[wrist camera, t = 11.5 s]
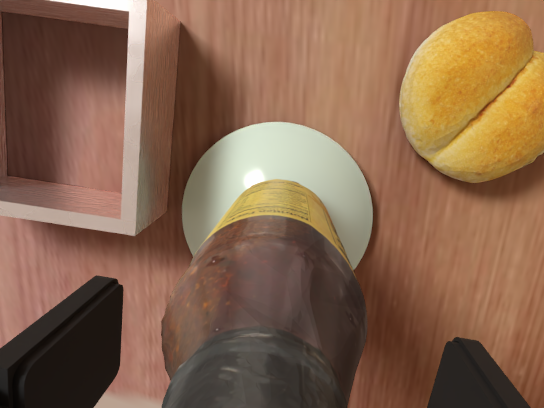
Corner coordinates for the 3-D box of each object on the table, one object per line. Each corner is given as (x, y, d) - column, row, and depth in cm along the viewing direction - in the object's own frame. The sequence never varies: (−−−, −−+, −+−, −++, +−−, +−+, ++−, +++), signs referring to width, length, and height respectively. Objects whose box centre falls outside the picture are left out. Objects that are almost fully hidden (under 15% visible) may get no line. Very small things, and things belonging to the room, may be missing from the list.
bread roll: (473, -12, 20) (515, -41, 17) (573, 104, 22) (634, 102, 18) (362, 100, 22) (377, 97, 18) (460, 201, 23) (493, 219, 19)
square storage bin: (180, 21, 21) (147, -6, 17) (166, 211, 24) (135, 235, 19) (-13, -6, 22) (-101, -40, 17) (-4, 185, 25) (-78, 203, 20)
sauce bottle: (307, 282, 24) (359, 965, 5) (217, 249, 24) (-106, 821, 5) (346, 190, 22) (665, 662, 3) (250, 154, 22) (-34, 423, 3)
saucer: (388, 136, 22) (391, 137, 22) (350, 312, 25) (352, 318, 24) (193, 108, 23) (190, 108, 22) (178, 285, 26) (175, 291, 25)
